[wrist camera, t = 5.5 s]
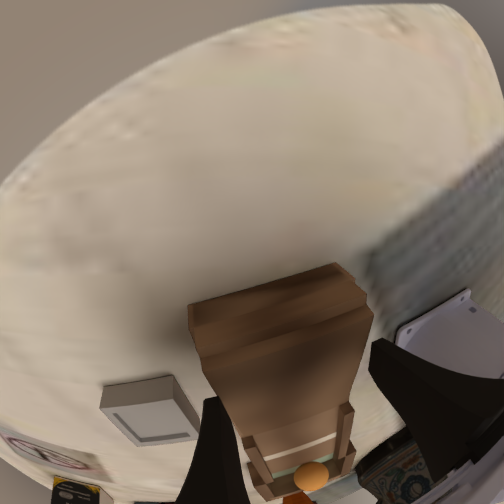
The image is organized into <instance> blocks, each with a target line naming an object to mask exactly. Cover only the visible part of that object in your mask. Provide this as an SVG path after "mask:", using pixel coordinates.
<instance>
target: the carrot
mask: <svg viewBox="0 0 504 504" xmlns="http://www.w3.org/2000/svg"><path fill="white" fill-rule="evenodd" d="M283 504H313V502H312V501H311V500H310V498H309V497H308V496H307V495H306V494H305V493H304V492H303V491H302V492H299V493H296V494H292V495H289V496H286V497H283Z"/></svg>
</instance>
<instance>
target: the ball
mask: <svg viewBox="0 0 504 504" xmlns="http://www.w3.org/2000/svg"><path fill="white" fill-rule="evenodd" d="M328 478H329V472H328V469H327V468H326V466H325V465H323V464H322V463H320V462H315V461H311V462H308V463H305V464H302V465H300V466H299V467H298V468H297V469H296V471H295V473H294V482H295V484H296V485H297V487H299V488H300V489H302V490H305V491H315V490H318V489H320V488H321V487H323V486H324V485H325V484H326V482H327V481H328Z"/></svg>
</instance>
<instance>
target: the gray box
mask: <svg viewBox="0 0 504 504" xmlns="http://www.w3.org/2000/svg"><path fill="white" fill-rule="evenodd" d="M99 409H100V410H101V411H102V412H103V413H104V414H105V415H106V416H107V418H108V419H109V420H110V421H111V422H112V423H113V424H114V425H115V426H116V427H117V428H118V429H119V430H120V431H121V432H122V433H123V434H124V435H125V436H126V437H127V438H128V439H129V440H130V441H131V442H133V443H134V444H135V445H136V446H137V447H143V446H154V445H163V444H172V443H179V442H186V441H192V440H198V436H199V431H200V419H199V417H198V415H197V414H196V412H195V411H194V409H193V407H192V406H191V404H190V403H189V401H188V400H187V398H186V396H185V395H184V393H183V392H182V390H181V388H180V387H179V385H178V383H177V381H176V380H175V378H174V376H173V375H171V376H166V377H161V378H156V379H151V380H145V381H139V382H133V383H127V384H120V385H113V386H105V387H104V388H103V393H102V397H101V402H100V407H99Z"/></svg>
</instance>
